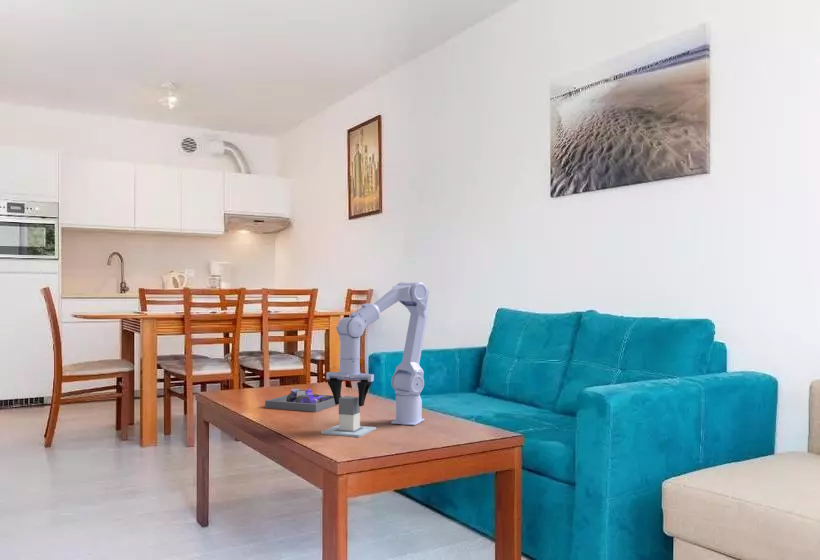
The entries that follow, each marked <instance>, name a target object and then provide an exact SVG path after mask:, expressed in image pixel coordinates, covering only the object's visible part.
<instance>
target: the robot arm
mask: <svg viewBox="0 0 820 560" xmlns="http://www.w3.org/2000/svg"><path fill="white" fill-rule="evenodd" d="M429 295H430V291H429V289H428V287H427V286H426V284H425V283H424V282H422V281H417V282H405V281H403V282H402V281H401V282H398V283H397V284H396V285H394V286H392V288H391V289H390V290H389V291H388V292H386V293H385V294H384V295H383V296H381V297H380V298H379V299H378V300H376V301H375V302H374V303H370V302H368V303H363V304H362V305H361V307H360V308H359V309H357V310H356V311H355V312H351V313H350V315H349V317H345V316H344V317H343V318H341V319H340V320H339V322H338V324H337V326H336V332H337V334H338V337H339V341H340V344H339V345H340V347H339V350H340V351H339V355H340V358H339V359H340V360H339V371H328V372H326V377H325V379H326V380H328V381H327V384H328V386H329V388H330V391H331V393H332V396H333V397H334V401H335V406H337V405H338V406H339V398H341V396H342V393H341V391H342V385H343V381H357V382H356V385H357V391H358V397H359V406H360V407H363V406H365V400H366V397H367V395H368V391H369V389H370V387H371V386H372V384H373V383H372V382H374V381H375V374H373V373H362V372H360V370H361V369H360V368H361V365H360V363H361V361H360V359H361V336H363V334H364V332H365V330H366V329H367V328H368V327H370V326H371V325H372V324H374V323H375V322H376V321H378V320H379V319H380V316H381V315H380V314H381V313H382V312H384V311H385V310H387V309H389V308H391V306H393V305H394V304H397V303H398V302H399V303H400V304H402V305H403V307H405V308H406V309H407V310H408V312H409V313H410V315H409V320H408V327H407V330H406V331H407V332H406V339H405V345H404V349H403V354H402V361H401V362H400V363H399V364H398V365H397V366H396V367H395V370H394V373H393V375H392V377H391V380H390V381H391V387H392V389H393V390H394V394H395V419H394V420H392V421H391V422H390V424H392V425H393V424H395V425H405V426H406V425H408V426H416V425H418V424H421V423H422V422H424V421H425V418H423V414H422V413H423V400H422V397H421V396H420V395H421V392H422V391H423V389H424V388H425V387H424V386H425V379H424V374H425V372H424V370H423V368H422V367H421V366H420V362H421V361H420V360H421V357H422V351H423V350H422V349H423V344H424V339H425V333H426V327H427V322H428V321H427V320H428V316H429V310H430V309H429V302H428V301H429Z"/></svg>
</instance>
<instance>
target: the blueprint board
mask: <svg viewBox="0 0 820 560" xmlns="http://www.w3.org/2000/svg"><path fill="white" fill-rule="evenodd" d="M375 430H377V426H368V425H367V426H365V425H360V428H359V429H357V430H355V431H347V430H339V424H337V425H334V426H332V427H329V428H326V429H325V430H324V429H323V430H322V431H320V432H321V433H320V434H323V435H330V436H331V435H332V436H341V437H342V436H343V437H351V438H352V437H353V438H361V437H362V436H364V435H365V436H366V435H367V434H370V433H372V432H373V431H375Z"/></svg>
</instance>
